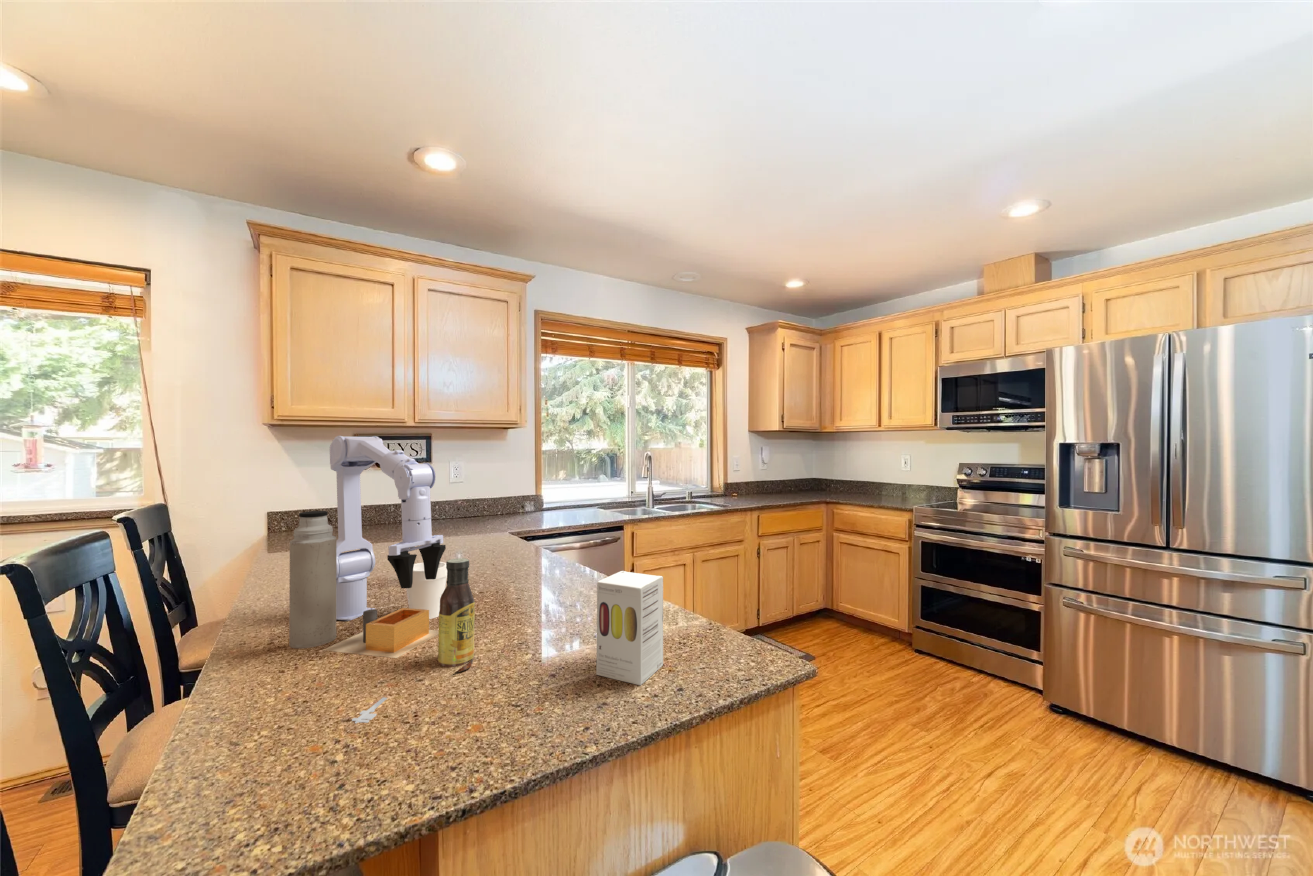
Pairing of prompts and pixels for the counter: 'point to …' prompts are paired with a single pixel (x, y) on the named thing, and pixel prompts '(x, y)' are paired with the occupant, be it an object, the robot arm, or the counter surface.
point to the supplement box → (629, 626)
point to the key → (366, 713)
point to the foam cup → (427, 589)
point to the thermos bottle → (312, 582)
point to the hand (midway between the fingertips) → (419, 583)
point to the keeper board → (361, 647)
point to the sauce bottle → (456, 618)
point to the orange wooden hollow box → (397, 629)
